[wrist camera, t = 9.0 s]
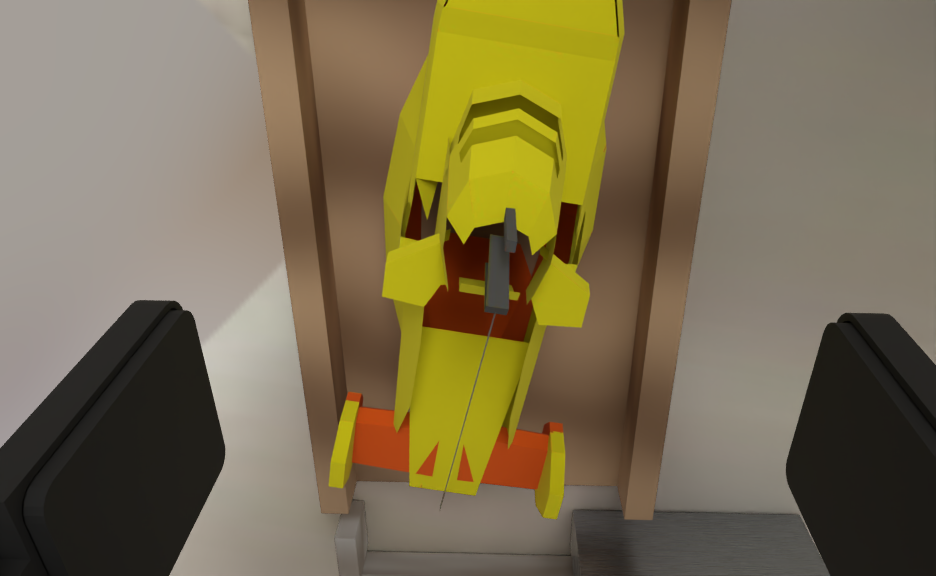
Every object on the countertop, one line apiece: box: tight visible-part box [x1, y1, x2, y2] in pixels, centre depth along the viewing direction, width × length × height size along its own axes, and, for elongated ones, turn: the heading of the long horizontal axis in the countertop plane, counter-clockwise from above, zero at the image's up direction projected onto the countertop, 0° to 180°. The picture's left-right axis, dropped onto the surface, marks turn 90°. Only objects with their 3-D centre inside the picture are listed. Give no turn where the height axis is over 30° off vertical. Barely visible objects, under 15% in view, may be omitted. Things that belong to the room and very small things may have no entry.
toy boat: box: [329, 0, 624, 519], centre depth 17 cm, size 6×18×10 cm, turn 171°
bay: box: [248, 0, 826, 576], centre depth 22 cm, size 30×20×2 cm
